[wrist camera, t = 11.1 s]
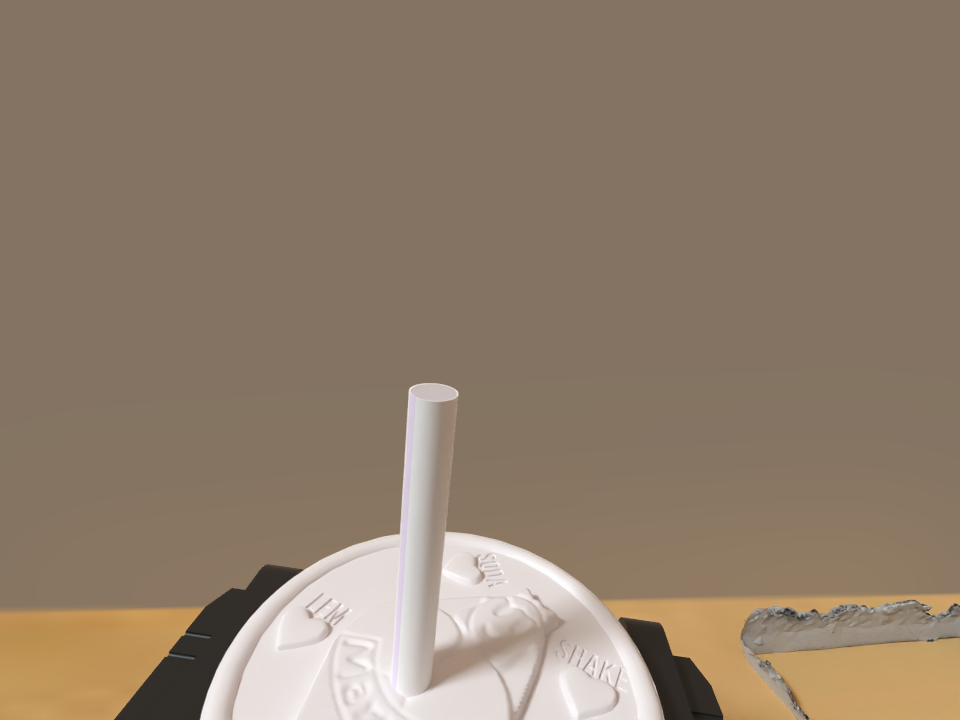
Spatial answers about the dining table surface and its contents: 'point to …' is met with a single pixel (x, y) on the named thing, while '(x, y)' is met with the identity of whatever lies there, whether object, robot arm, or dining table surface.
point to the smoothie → (432, 623)
